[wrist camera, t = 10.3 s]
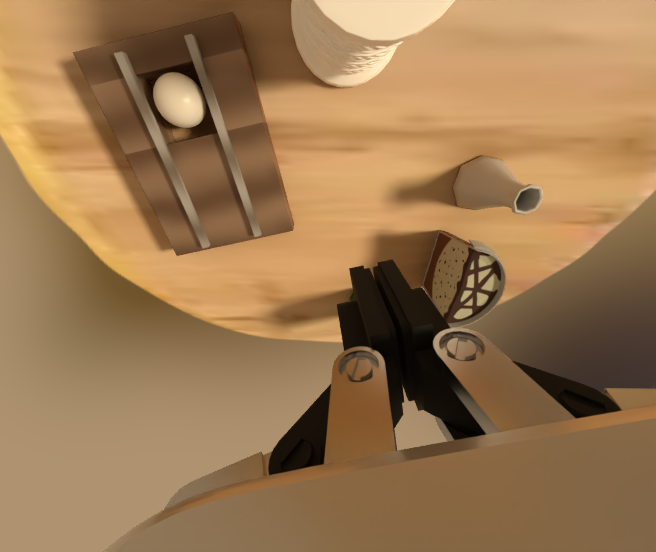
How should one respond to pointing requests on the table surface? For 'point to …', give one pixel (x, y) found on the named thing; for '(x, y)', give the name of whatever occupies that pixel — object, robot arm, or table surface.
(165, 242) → the table surface
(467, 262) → the food container
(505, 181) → the flask
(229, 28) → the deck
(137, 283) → the table surface
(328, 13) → the decorative container
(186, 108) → the ball
